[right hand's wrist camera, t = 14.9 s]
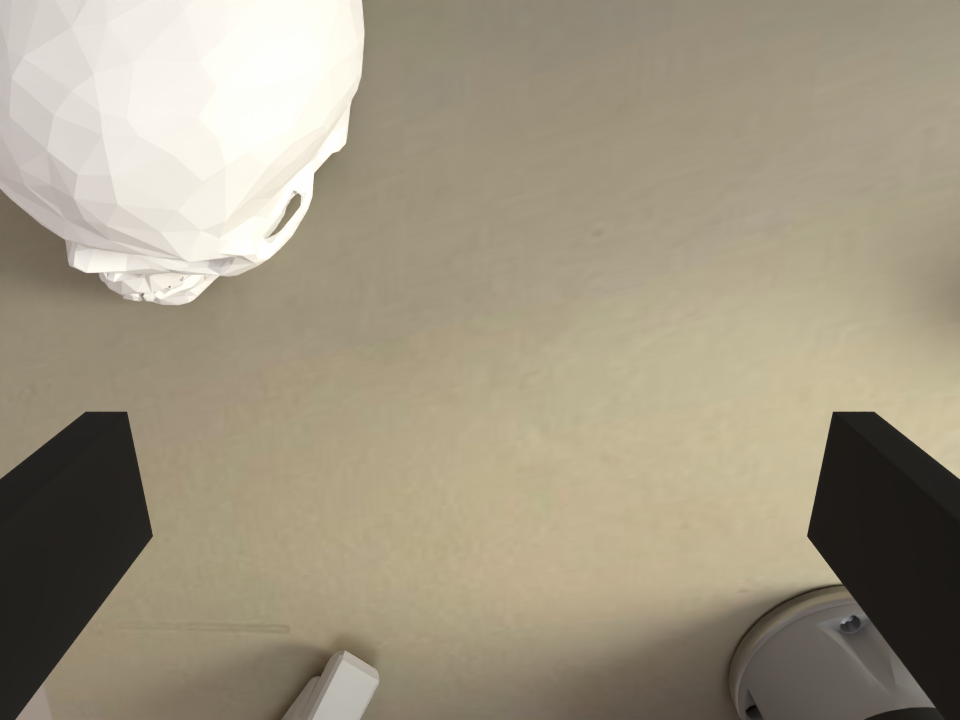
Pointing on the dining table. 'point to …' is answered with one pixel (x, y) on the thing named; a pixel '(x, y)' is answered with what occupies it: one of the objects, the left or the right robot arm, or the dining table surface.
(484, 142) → the dining table surface
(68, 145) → the skull
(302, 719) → the clamp
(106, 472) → the right robot arm
